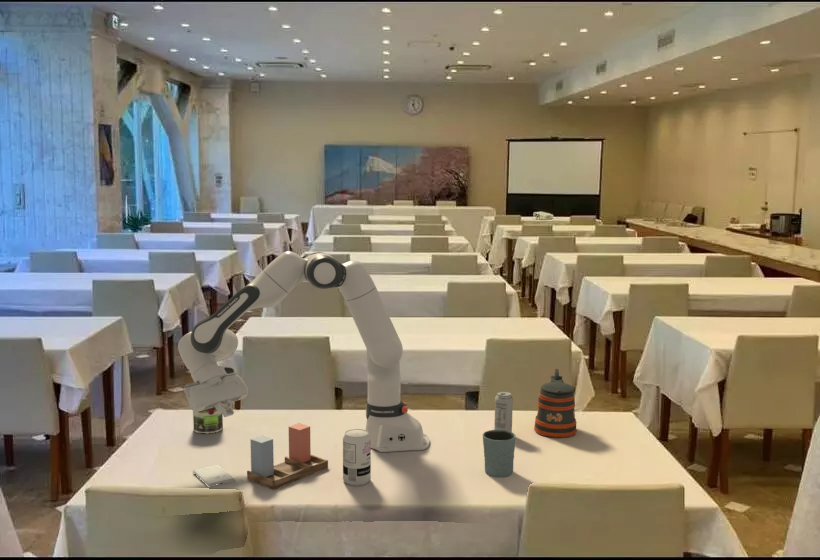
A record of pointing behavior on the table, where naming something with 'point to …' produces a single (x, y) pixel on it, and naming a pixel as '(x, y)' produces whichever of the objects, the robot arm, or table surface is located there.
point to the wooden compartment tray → (289, 472)
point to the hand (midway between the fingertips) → (229, 415)
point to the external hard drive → (213, 475)
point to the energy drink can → (503, 411)
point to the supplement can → (356, 457)
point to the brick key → (299, 442)
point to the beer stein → (556, 409)
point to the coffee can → (207, 421)
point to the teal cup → (499, 452)
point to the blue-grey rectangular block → (262, 456)
